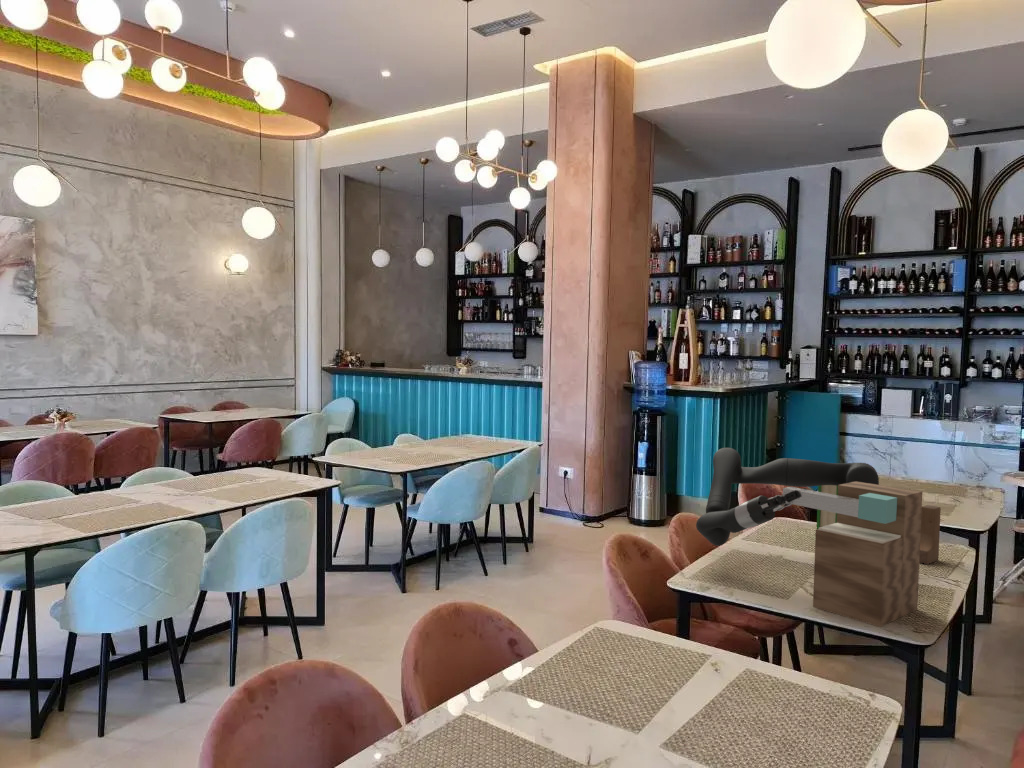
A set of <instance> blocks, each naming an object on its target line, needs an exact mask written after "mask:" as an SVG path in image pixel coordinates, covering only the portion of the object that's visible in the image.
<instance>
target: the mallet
mask: <svg viewBox="0 0 1024 768" xmlns="http://www.w3.org/2000/svg"><path fill="white" fill-rule="evenodd" d="M806 489H807V488H806ZM806 489H804V488H801V487H794V486H786V487H783V488H782V494H785V495H786V494H788V493H790V492H792V491H795V490H798V491H799V494H800V498H797V499H795V500H792V501H790V502H789V501H788V503H789V504H792V505H793V506H794V505H795V506H799V507H805V508H810V509H814V510H817V509H819V510H824V511H829V512H834V513H839V514H844V515H848V516H853V517H858V518H859V519H864V520H869V521H874V522H879V523H884V524H887V523H890V522H893V521H896V511H897V498H896V497H891V496H885V495H879V494H873V493H867V494H863V495H859V499H855V498H850V497H844V496H839V495H833V494H828V493H822V492H818V490H817V491H815V490H812V489H811V490H810V489H807V490H806Z"/></svg>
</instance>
